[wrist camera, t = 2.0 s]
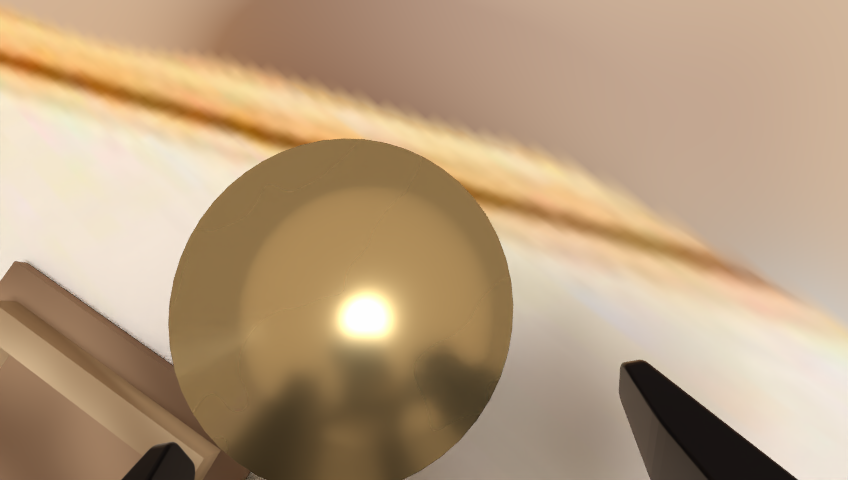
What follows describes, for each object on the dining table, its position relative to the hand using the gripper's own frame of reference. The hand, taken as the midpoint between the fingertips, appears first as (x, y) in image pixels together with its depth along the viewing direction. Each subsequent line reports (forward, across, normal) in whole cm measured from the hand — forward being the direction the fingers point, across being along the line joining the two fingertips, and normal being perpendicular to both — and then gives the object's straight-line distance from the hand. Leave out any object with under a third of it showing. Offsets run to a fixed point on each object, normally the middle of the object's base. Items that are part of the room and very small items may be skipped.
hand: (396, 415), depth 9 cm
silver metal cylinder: (+8, 0, +6) cm, 10 cm away
